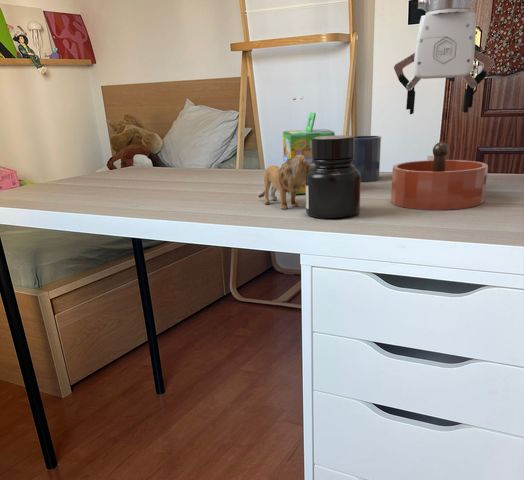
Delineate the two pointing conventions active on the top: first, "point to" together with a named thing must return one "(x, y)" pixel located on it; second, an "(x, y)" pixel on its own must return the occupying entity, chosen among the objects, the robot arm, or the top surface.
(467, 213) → the top surface
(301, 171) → the lion figurine
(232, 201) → the top surface
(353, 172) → the ink bottle
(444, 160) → the holder post
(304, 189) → the green juice box
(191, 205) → the top surface
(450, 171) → the bowl
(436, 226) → the top surface
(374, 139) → the cup
